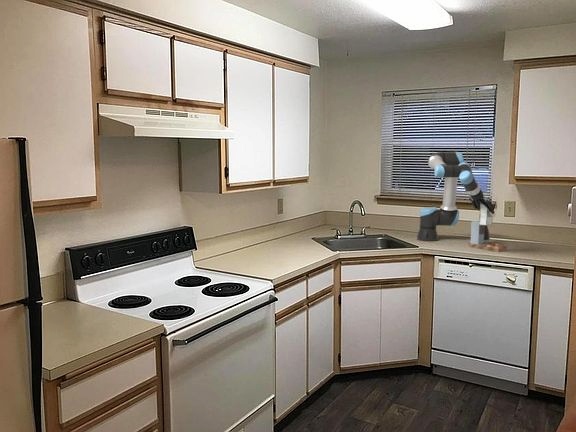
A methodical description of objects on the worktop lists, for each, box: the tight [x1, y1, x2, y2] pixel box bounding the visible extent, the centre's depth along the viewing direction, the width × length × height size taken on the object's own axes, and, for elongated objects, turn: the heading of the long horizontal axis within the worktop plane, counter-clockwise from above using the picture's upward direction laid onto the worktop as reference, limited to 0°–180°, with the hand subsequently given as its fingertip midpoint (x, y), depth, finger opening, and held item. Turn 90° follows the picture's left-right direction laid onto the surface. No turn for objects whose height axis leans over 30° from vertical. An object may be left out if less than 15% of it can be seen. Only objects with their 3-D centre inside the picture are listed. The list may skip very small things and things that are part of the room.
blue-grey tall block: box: [470, 220, 485, 245], centre depth 345 cm, size 7×6×15 cm
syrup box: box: [478, 202, 494, 226], centre depth 324 cm, size 6×6×14 cm
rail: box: [467, 242, 508, 253], centre depth 340 cm, size 23×9×3 cm, turn 34°
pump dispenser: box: [484, 225, 491, 244], centre depth 357 cm, size 10×10×15 cm
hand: (489, 215), depth 326 cm, fingers closed on syrup box, 6 cm apart
